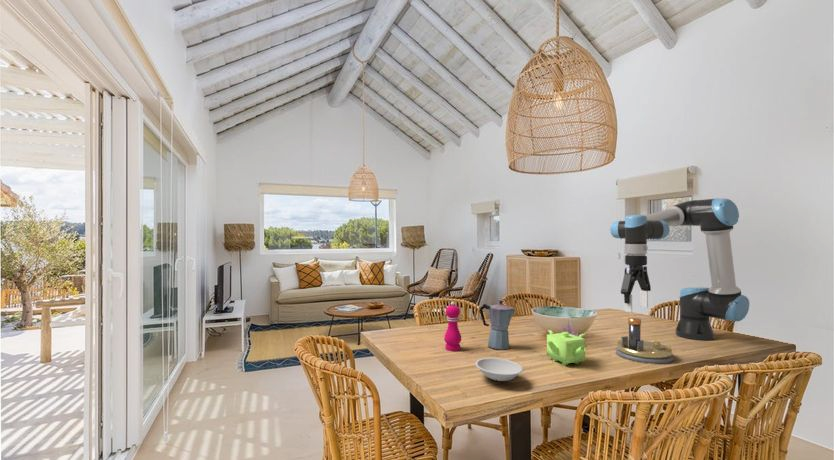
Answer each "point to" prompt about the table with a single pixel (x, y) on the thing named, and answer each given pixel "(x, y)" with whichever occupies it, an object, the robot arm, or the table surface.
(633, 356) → the base plate
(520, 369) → the dish
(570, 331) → the lily
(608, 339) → the table surface
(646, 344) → the gold and gray disc
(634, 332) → the pin
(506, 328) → the moka pot
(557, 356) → the green animal planter
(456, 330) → the pepper mill
